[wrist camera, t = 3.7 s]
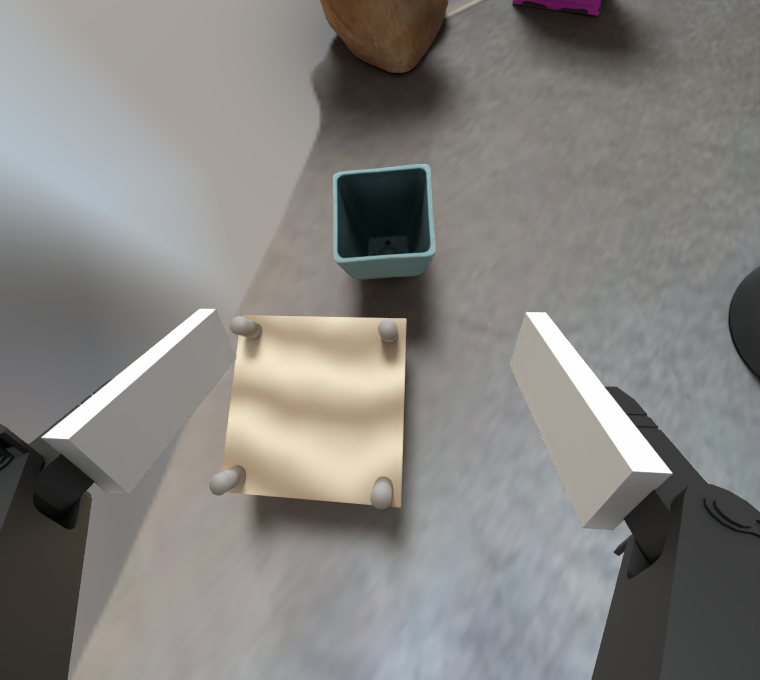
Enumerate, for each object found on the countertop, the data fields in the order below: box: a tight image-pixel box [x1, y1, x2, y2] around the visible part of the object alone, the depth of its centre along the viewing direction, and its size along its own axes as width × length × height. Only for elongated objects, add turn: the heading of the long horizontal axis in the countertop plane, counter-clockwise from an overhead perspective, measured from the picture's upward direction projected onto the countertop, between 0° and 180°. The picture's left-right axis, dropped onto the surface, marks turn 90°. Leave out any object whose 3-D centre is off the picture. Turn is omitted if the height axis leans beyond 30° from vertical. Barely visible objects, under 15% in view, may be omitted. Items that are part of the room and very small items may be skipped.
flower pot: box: [333, 164, 436, 279], centre depth 29 cm, size 9×9×9 cm
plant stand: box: [209, 315, 406, 510], centre depth 27 cm, size 16×16×8 cm
